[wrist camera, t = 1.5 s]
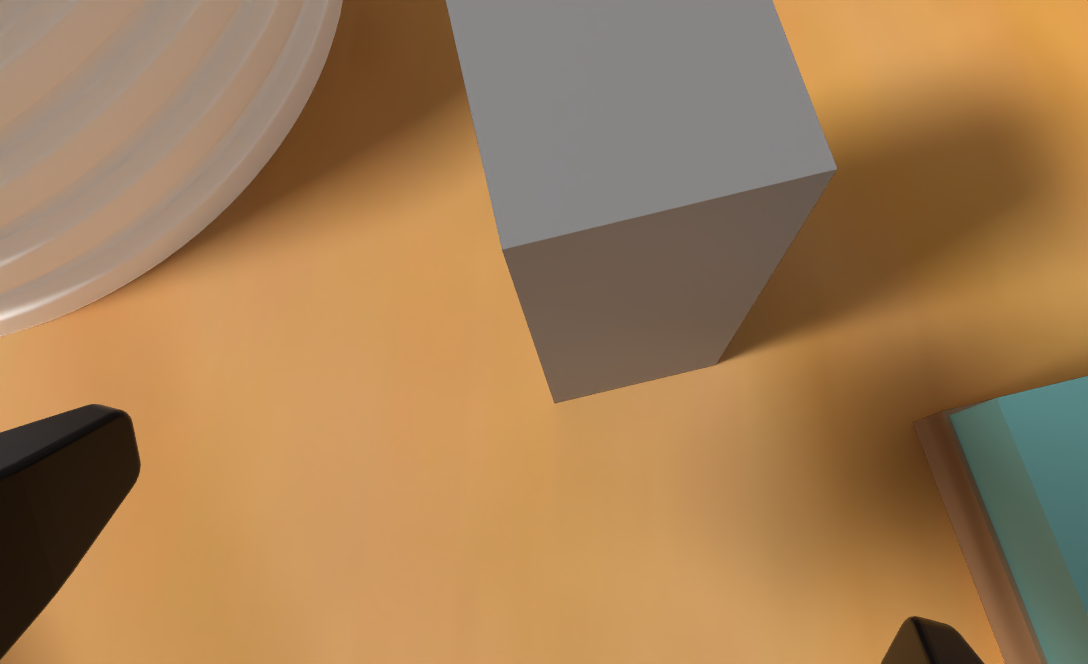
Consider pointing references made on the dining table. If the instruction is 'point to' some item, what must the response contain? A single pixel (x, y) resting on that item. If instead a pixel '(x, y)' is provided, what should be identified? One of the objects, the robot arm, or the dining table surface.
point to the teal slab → (1038, 503)
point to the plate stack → (136, 132)
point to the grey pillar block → (638, 172)
